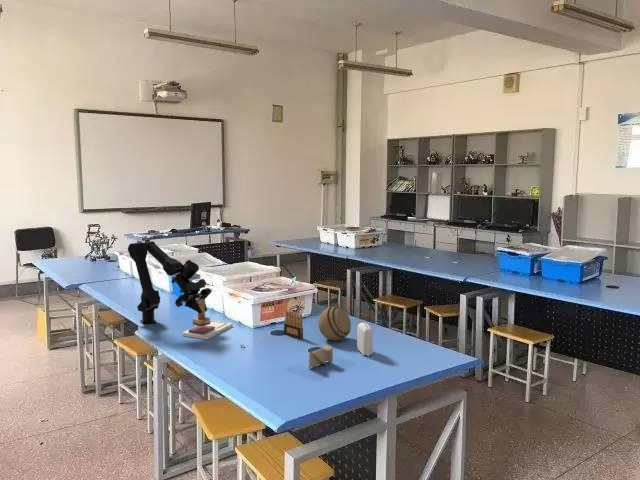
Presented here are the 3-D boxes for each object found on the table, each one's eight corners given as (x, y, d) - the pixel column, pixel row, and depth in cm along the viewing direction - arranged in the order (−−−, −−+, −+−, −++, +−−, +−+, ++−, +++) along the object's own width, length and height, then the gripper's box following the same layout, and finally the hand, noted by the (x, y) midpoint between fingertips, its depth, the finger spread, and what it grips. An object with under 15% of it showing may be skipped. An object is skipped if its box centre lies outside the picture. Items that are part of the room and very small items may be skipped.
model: (332, 364, 215) (333, 345, 214) (315, 372, 207) (315, 352, 206) (326, 362, 217) (326, 344, 216) (308, 370, 209) (309, 350, 208)
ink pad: (203, 334, 244) (203, 332, 243) (188, 332, 246) (188, 329, 246) (214, 329, 252) (214, 326, 252) (199, 327, 255) (199, 324, 255)
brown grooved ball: (323, 346, 236) (323, 312, 234) (314, 335, 250) (314, 303, 248) (356, 343, 240) (356, 310, 238) (345, 333, 254) (346, 302, 252)
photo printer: (355, 348, 233) (356, 320, 231) (365, 348, 234) (366, 320, 233) (363, 357, 223) (364, 327, 222) (373, 356, 224) (374, 327, 223)
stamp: (200, 326, 245) (200, 300, 243) (192, 324, 248) (192, 298, 247) (210, 324, 249) (210, 298, 248) (202, 321, 253) (202, 296, 251)
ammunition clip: (283, 334, 252) (283, 308, 250) (286, 333, 253) (286, 308, 251) (300, 339, 244) (300, 313, 243) (303, 338, 246) (303, 312, 244)
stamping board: (207, 339, 242) (207, 335, 242) (182, 335, 246) (182, 332, 246) (232, 326, 262) (232, 322, 262) (209, 322, 267) (209, 319, 267)
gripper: (179, 277, 240) (198, 305, 236) (208, 270, 256) (227, 297, 252) (166, 292, 245) (185, 320, 241) (195, 285, 261) (213, 311, 257)
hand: (203, 311), depth 247 cm, fingers closed on stamp, 3 cm apart
